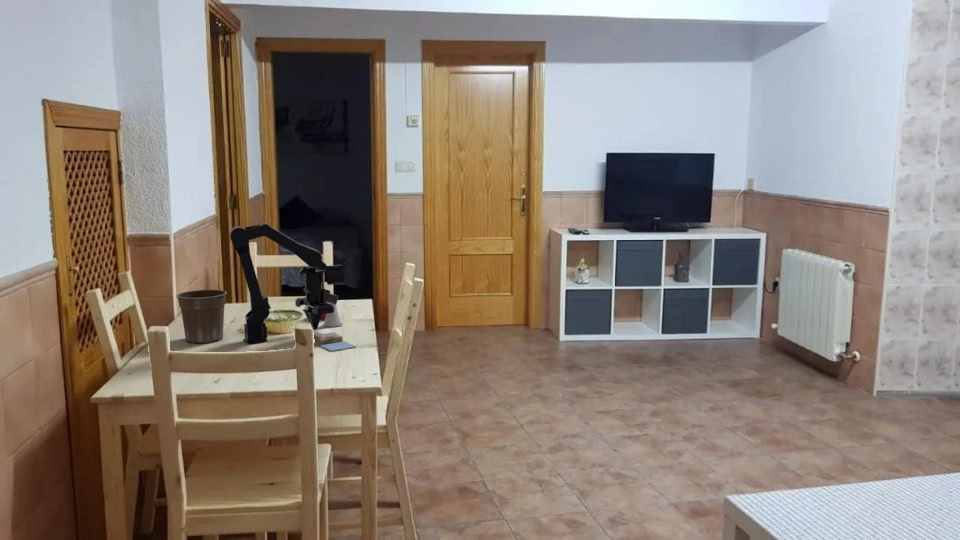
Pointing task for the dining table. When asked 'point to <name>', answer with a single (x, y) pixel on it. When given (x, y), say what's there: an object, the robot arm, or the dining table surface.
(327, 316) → the flask
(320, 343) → the deck
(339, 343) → the mat
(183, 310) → the plant pot
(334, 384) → the dining table surface
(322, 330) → the white flat block
